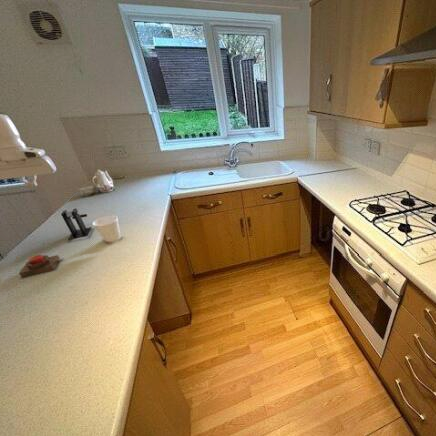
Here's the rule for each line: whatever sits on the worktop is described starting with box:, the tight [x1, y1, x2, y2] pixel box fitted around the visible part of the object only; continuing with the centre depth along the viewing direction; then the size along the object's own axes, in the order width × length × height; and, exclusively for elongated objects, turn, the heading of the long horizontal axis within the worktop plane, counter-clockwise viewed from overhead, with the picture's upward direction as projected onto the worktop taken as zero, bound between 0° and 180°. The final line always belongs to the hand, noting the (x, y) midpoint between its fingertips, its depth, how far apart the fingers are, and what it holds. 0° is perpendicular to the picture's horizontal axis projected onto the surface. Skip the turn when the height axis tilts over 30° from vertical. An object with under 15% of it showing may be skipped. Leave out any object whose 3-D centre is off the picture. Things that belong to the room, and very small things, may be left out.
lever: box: [66, 210, 88, 220], centre depth 121 cm, size 12×6×2 cm
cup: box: [91, 215, 122, 243], centre depth 115 cm, size 10×10×11 cm
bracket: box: [60, 208, 93, 241], centre depth 119 cm, size 10×8×14 cm
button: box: [28, 254, 44, 264], centre depth 98 cm, size 4×4×2 cm
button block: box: [18, 254, 60, 279], centre depth 99 cm, size 10×8×4 cm
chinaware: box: [78, 169, 116, 197], centre depth 176 cm, size 28×17×17 cm, turn 178°
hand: (32, 186), depth 103 cm, fingers closed
